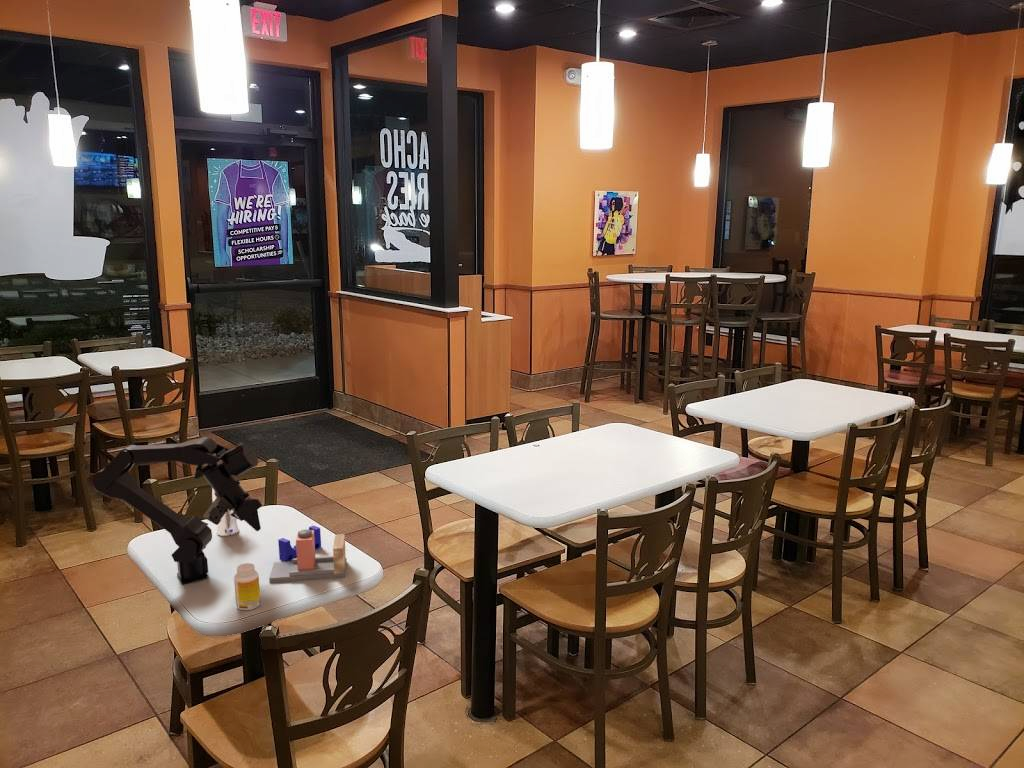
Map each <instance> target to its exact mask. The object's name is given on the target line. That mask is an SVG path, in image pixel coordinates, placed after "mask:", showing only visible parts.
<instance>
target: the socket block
mask: <svg viewBox="0 0 1024 768" xmlns="http://www.w3.org/2000/svg"><path fill="white" fill-rule="evenodd" d="M345 537H346V536H345V534H344V533H342V534H341V533H340V534H339V533H338V534H335V535H334V540H333V545H332V556H333V561H334V574H339V573H344V568H345V560H346V559H347V557H346V556H347V554H346V538H345Z"/></svg>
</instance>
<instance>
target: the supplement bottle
mask: <svg viewBox="0 0 1024 768" xmlns="http://www.w3.org/2000/svg"><path fill="white" fill-rule="evenodd" d="M233 578H234V579H233V581H234V593H235V603H236V604H235V605H236V608H237V609H238V610H241V611H251V610H255V609H256V608H258V607H259V606H260V604H261V592H260V591H261V590H260V578H259V572H258V571H256V569H255V565H254V564H253V563H250V562H246V563H241V564H239V565H237V567H236V574H234V577H233Z"/></svg>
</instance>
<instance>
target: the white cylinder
mask: <svg viewBox="0 0 1024 768" xmlns="http://www.w3.org/2000/svg"><path fill="white" fill-rule="evenodd" d="M211 489H212V490H211V491H212V492H211V496H212V497H211V500H212V503H213V502H214V501H215V499H216V498H217V497H216V496H215V491H214V489H213V488H212V487H211ZM227 510H228V509H227ZM232 513H233V512H232V511H229V510H228V512H226V513H225V514H224V516H223V517H222V519H221V521H220V523H219V524H218V525H217V528H216V534H217V535H218V536H219V535H220V536H219V537H230V536H229V535H231V536H234V535H236V534H238V533H239V527H238V521H237V520H238V519H236V518H235V517H233V516H231V514H232ZM237 532H238V533H237ZM235 533H236V534H235ZM233 534H234V535H233Z"/></svg>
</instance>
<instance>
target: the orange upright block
mask: <svg viewBox="0 0 1024 768" xmlns="http://www.w3.org/2000/svg"><path fill="white" fill-rule="evenodd" d="M295 545H296V550H297V566H298V571H300V570H314V567H315V562H316V557H317V556H316V550H315V539H314V530H309V529H302V530H298V531H297V534H296V538H295Z"/></svg>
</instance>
